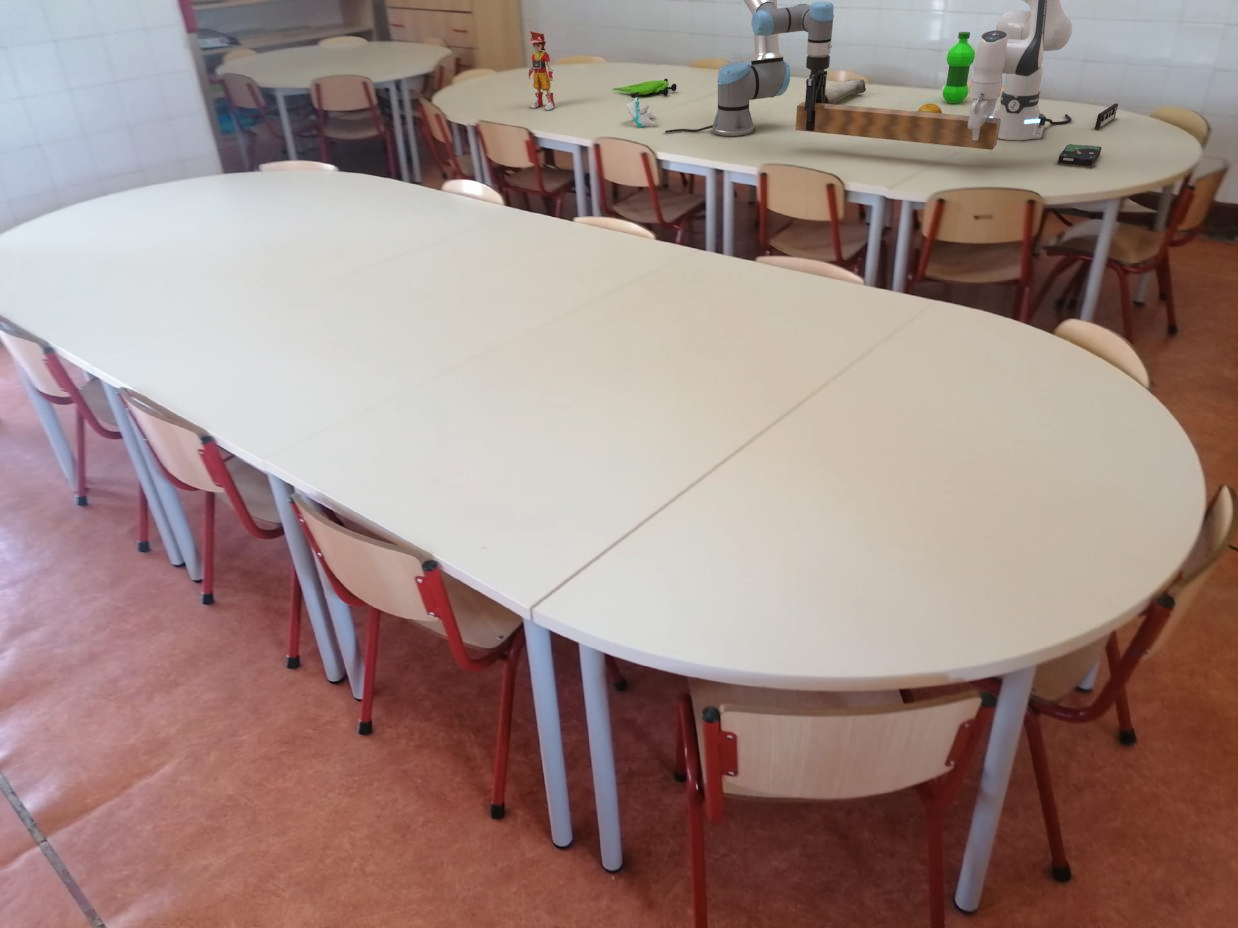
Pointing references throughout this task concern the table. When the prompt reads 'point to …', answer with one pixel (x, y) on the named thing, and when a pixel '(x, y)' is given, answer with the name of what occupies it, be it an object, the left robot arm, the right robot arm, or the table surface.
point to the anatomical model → (640, 114)
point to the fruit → (930, 108)
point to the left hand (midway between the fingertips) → (813, 127)
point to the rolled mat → (844, 90)
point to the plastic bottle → (958, 69)
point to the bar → (899, 125)
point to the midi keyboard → (1106, 116)
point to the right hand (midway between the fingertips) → (978, 136)
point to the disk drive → (1079, 155)
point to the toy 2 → (648, 88)
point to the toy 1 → (541, 71)
